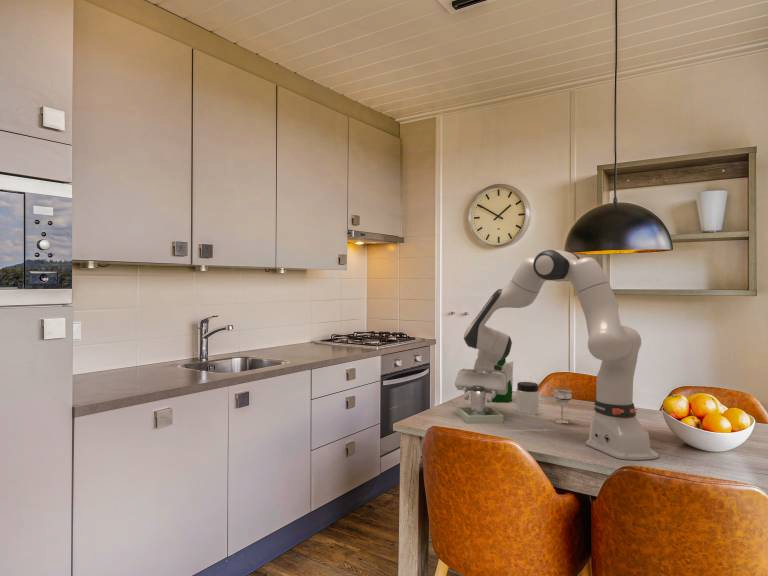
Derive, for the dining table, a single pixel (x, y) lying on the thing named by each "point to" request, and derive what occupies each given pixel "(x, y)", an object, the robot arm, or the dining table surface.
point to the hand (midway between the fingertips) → (477, 400)
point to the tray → (489, 418)
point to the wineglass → (562, 400)
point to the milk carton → (509, 369)
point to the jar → (527, 398)
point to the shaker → (477, 401)
